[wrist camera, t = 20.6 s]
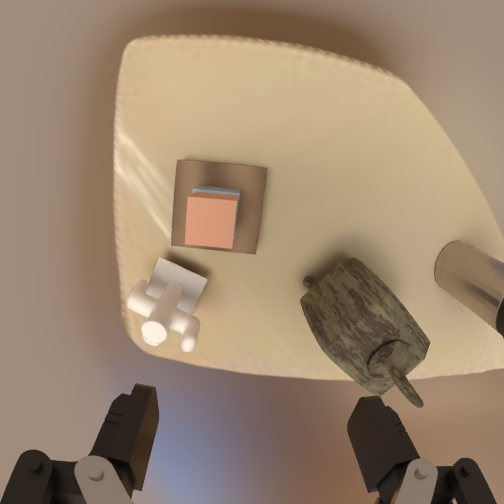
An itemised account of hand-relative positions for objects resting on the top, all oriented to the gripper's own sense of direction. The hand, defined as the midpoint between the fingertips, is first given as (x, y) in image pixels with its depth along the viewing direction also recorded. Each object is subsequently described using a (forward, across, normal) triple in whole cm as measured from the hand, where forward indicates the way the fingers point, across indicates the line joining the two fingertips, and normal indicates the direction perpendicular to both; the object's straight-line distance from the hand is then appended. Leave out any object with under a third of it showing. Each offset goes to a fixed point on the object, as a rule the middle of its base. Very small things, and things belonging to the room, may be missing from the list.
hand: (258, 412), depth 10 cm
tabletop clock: (+32, -16, +8) cm, 37 cm away
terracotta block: (+23, +4, -3) cm, 24 cm away
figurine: (+32, +9, +9) cm, 35 cm away
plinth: (+32, +4, -3) cm, 32 cm away
